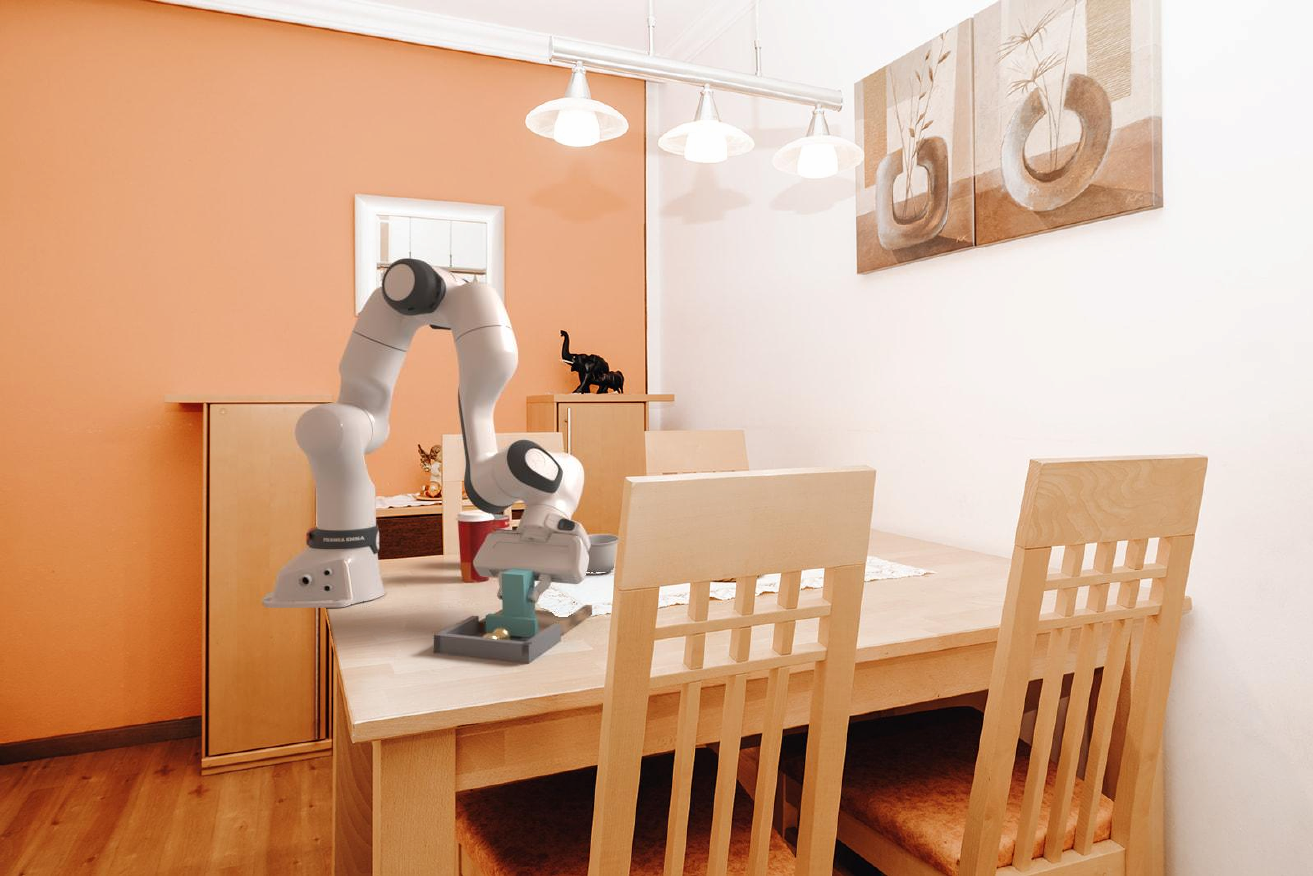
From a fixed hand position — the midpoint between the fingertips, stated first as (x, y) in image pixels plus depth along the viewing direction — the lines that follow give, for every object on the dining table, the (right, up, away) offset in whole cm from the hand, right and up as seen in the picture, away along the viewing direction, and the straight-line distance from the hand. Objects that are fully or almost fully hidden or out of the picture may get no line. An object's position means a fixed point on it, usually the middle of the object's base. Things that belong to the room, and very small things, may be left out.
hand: (516, 599), depth 129 cm
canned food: (-16, -4, +56) cm, 58 cm away
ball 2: (-1, -5, -4) cm, 6 cm away
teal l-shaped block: (0, -5, +1) cm, 5 cm away
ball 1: (-2, -5, -7) cm, 9 cm away
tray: (-2, -7, -6) cm, 9 cm away
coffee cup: (-17, -5, +42) cm, 46 cm away
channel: (+2, -6, +8) cm, 10 cm away
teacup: (+9, -4, +52) cm, 53 cm away
